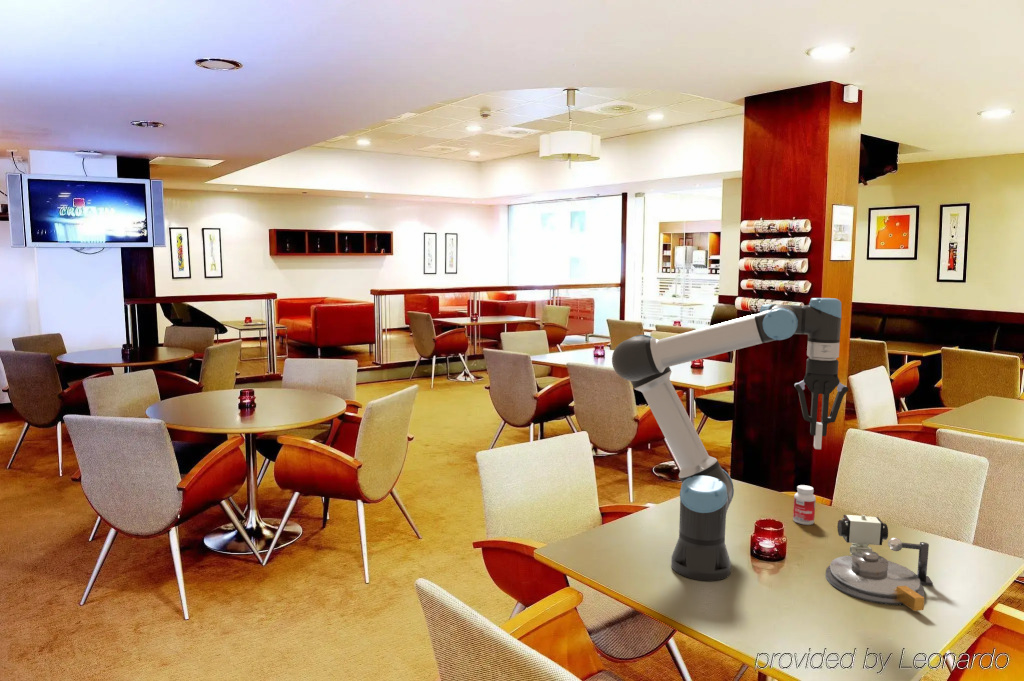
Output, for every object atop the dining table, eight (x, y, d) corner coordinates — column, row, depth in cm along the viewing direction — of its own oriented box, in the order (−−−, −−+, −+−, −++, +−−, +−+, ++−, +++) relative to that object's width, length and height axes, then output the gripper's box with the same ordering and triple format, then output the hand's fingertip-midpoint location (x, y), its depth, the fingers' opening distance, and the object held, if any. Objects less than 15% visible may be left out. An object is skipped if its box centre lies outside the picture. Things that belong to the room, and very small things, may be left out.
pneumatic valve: (886, 562, 186) (889, 519, 185) (839, 558, 189) (842, 516, 187) (879, 554, 192) (882, 512, 190) (834, 550, 194) (837, 509, 193)
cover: (865, 580, 169) (866, 561, 168) (844, 566, 177) (845, 547, 176) (894, 578, 170) (896, 559, 170) (872, 564, 178) (874, 546, 177)
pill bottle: (791, 523, 214) (793, 488, 213) (793, 516, 220) (795, 483, 218) (813, 526, 211) (815, 491, 210) (814, 520, 217) (816, 486, 215)
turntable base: (832, 597, 167) (833, 592, 166) (819, 560, 188) (820, 555, 187) (935, 611, 160) (936, 606, 160) (910, 570, 181) (911, 566, 181)
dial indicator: (887, 580, 176) (890, 540, 174) (884, 573, 180) (886, 534, 178) (932, 586, 173) (935, 545, 172) (927, 579, 177) (931, 539, 175)
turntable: (879, 613, 157) (880, 601, 157) (813, 565, 182) (814, 554, 182) (957, 607, 160) (958, 595, 160) (882, 560, 185) (883, 549, 185)
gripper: (796, 358, 175) (791, 449, 178) (853, 361, 172) (847, 453, 175) (793, 355, 183) (789, 442, 185) (847, 357, 179) (842, 446, 182)
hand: (817, 447), depth 180 cm, fingers closed
